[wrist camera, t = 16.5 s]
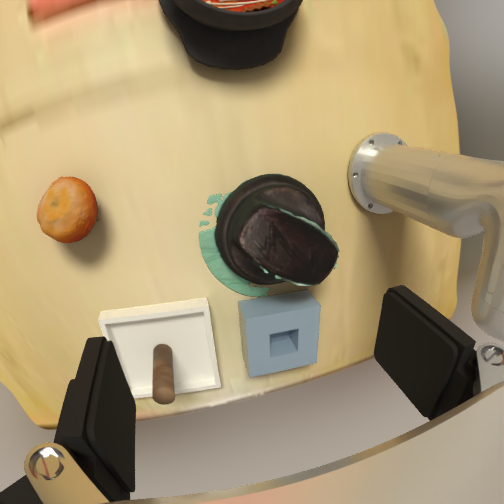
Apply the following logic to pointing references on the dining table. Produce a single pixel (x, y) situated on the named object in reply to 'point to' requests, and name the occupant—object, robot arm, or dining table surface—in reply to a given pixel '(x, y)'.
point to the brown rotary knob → (268, 236)
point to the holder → (279, 332)
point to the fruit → (67, 210)
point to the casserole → (232, 29)
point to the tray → (164, 332)
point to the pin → (163, 375)
